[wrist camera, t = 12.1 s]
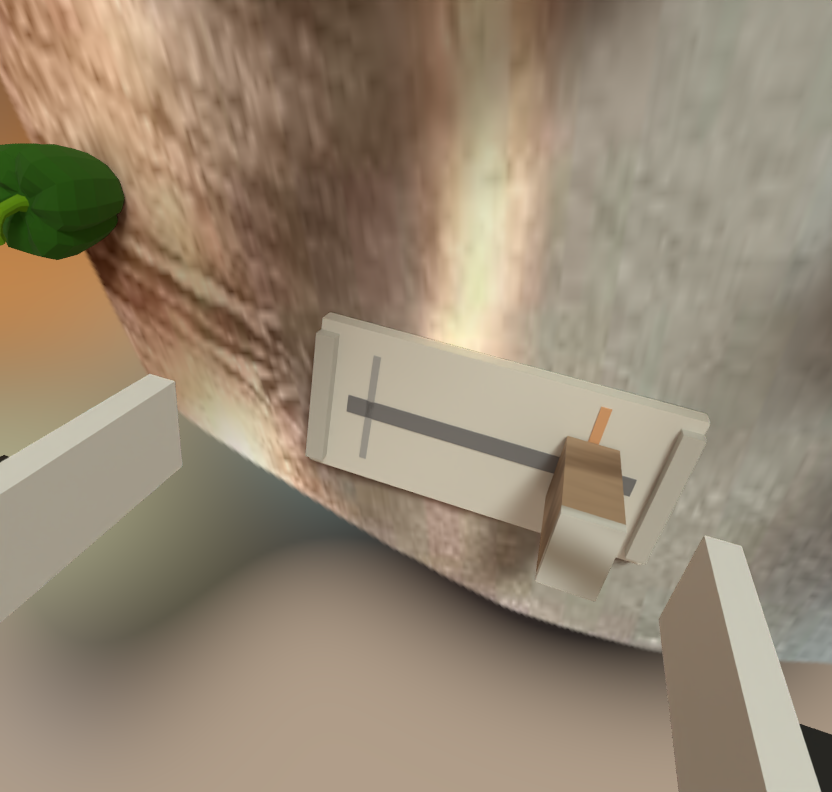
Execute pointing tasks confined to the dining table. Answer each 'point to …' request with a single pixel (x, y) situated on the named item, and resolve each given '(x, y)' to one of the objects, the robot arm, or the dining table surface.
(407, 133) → the dining table surface
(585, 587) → the fader knob
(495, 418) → the slider console
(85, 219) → the bell pepper
